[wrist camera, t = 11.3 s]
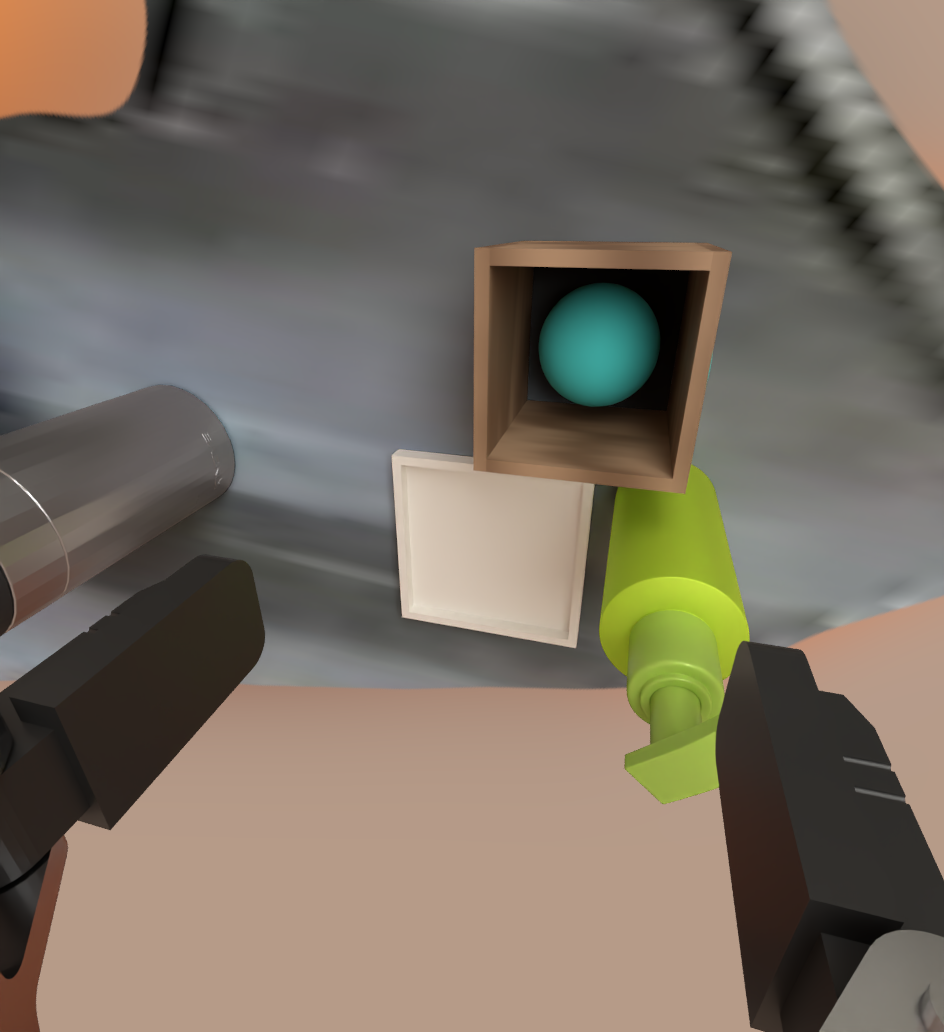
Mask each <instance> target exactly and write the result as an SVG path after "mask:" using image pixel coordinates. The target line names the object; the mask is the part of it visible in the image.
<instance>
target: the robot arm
mask: <svg viewBox="0 0 944 1032" xmlns="http://www.w3.org/2000/svg"><path fill="white" fill-rule="evenodd" d="M234 467H235V461H234V452H233V449H232V445H231V442H230V439H229V437H228V435H227V433H226V431H225V428H224V427H223V425H222V424H221V422H220V421H219V419H218V418H217V416H216V415H215V414H214V413H213V412H212V411H211V410H210V409H209V407H208V406H207V405H206V404H204V403H203V402H202V401H201V400H199V399H198V398H197V397H195V396H194V395H192V394H190V393H188V392H187V391H185V390H183V389H180V388H177V387H173V386H169V385H156V386H151V387H147V388H144V389H141V390H138V391H135V392H132V393H129V394H126V395H123V396H120V397H117V398H114V399H110V400H107V401H104V402H101V403H98V404H95V405H92V406H89V407H86V408H83V409H80V410H77V411H74V412H71V413H68V414H65V415H62V416H59V417H56V418H53V419H50V420H47V421H43V422H40V423H37V424H34V425H31V426H28V427H25V428H22V429H19V430H16V431H13V432H10V433H7V434H4V435H1V436H0V636H2V635H3V634H4V633H6V632H8V631H9V630H11V629H13V628H14V627H16V626H17V625H19V624H20V623H22V622H24V621H25V620H27V619H28V618H30V617H31V616H33V615H35V614H36V613H38V612H39V611H41V610H42V609H44V608H46V607H47V606H49V605H50V604H52V603H53V602H55V601H56V600H58V599H59V598H61V597H62V596H64V595H65V594H67V593H69V592H70V591H72V590H73V589H75V588H76V587H78V586H80V585H81V584H83V583H84V582H86V581H87V580H89V579H91V578H92V577H94V576H95V575H97V574H98V573H100V572H102V571H103V570H105V569H106V568H108V567H109V566H111V565H113V564H114V563H116V562H117V561H119V560H120V559H122V558H123V557H125V556H127V555H128V554H130V553H131V552H133V551H134V550H136V549H138V548H139V547H141V546H142V545H144V544H145V543H147V542H149V541H150V540H152V539H153V538H155V537H156V536H158V535H160V534H161V533H163V532H164V531H166V530H167V529H169V528H171V527H172V526H174V525H175V524H177V523H178V522H180V521H182V520H183V519H185V518H187V517H188V516H190V515H191V514H193V513H194V512H196V511H197V510H199V509H201V508H202V507H204V506H205V505H207V504H208V503H210V502H212V501H213V500H215V499H216V498H218V497H219V496H220V495H222V494H223V493H224V492H225V491H226V490H227V488H228V487H229V486H230V484H231V481H232V478H233V476H234ZM264 642H265V630H264V625H263V620H262V616H261V611H260V606H259V601H258V597H257V592H256V587H255V582H254V577H253V573H252V570H251V568H250V566H249V565H248V563H246V562H245V561H243V560H236V559H230V558H223V557H217V556H211V555H200V556H197V557H196V558H194V559H193V560H191V561H190V562H189V563H187V564H186V565H185V566H183V567H182V568H181V569H179V570H178V571H177V572H175V573H174V574H172V575H171V576H170V577H168V578H167V579H166V580H164V581H162V582H160V583H157V584H155V585H153V586H151V587H149V588H146V589H144V590H142V591H140V592H138V593H136V594H135V595H133V596H132V597H131V598H129V599H128V600H127V601H125V602H124V603H122V604H121V605H120V606H118V607H117V608H116V609H114V610H113V611H111V615H110V616H105V617H103V618H102V619H100V620H99V621H98V622H96V623H95V624H94V625H92V626H91V627H89V631H88V632H87V633H86V632H83V633H81V634H80V635H79V636H77V637H76V638H74V639H73V640H72V641H70V642H69V643H68V644H66V645H65V646H63V647H62V648H61V649H59V650H58V651H57V652H55V653H54V654H52V655H51V656H50V657H48V658H47V659H46V660H44V661H43V662H41V663H40V664H39V665H37V666H36V667H35V668H33V669H32V670H31V671H29V672H28V673H26V674H25V675H24V676H22V677H21V678H20V679H18V680H17V681H15V682H14V683H13V684H12V685H10V686H9V687H7V688H6V689H4V690H3V691H2V692H0V1032H40V1029H39V1024H38V1018H37V1012H36V994H37V985H38V980H39V976H40V972H41V967H42V963H43V959H44V954H45V950H46V945H47V941H48V936H49V932H50V927H51V923H52V919H53V914H54V910H55V906H56V901H57V897H58V892H59V888H60V884H61V880H62V875H63V870H64V866H65V862H66V858H67V852H68V844H67V840H66V838H65V836H64V834H65V833H66V832H67V831H68V830H69V829H70V828H71V827H72V826H73V825H74V824H75V822H76V821H77V820H78V821H82V822H85V823H88V824H92V825H95V826H98V827H102V828H105V829H108V830H111V829H112V828H113V827H114V825H115V824H116V823H117V822H118V821H119V820H120V819H121V817H122V816H123V815H124V814H125V813H126V812H127V811H128V810H129V808H130V807H131V806H132V805H133V804H134V803H135V801H136V800H137V799H138V798H139V797H140V796H141V795H142V794H143V793H144V791H145V790H146V789H147V788H148V787H149V786H150V785H151V783H152V782H153V781H154V780H155V779H156V778H157V777H158V775H159V774H160V773H161V772H162V771H163V770H164V769H165V768H166V766H167V765H168V764H169V763H170V762H171V761H172V759H173V758H174V757H175V756H176V755H177V754H178V753H179V752H180V750H181V749H182V748H183V747H184V746H185V745H186V744H187V742H188V741H189V740H190V739H191V738H192V737H193V736H194V735H195V733H196V732H197V731H198V730H199V729H200V728H201V727H202V725H203V724H204V723H205V722H206V721H207V720H208V719H209V718H210V716H211V715H212V714H213V713H214V712H215V711H216V710H217V708H218V707H219V706H220V705H221V704H222V703H223V702H224V700H225V699H226V698H227V697H228V696H229V695H230V693H232V691H233V690H234V689H235V688H236V687H237V686H238V685H239V683H240V682H241V681H242V680H243V679H244V678H245V677H246V675H247V674H248V673H249V672H250V671H251V670H252V669H253V667H254V666H255V665H256V663H257V662H258V660H259V658H260V656H261V653H262V651H263V647H264ZM715 756H716V767H717V775H718V783H719V790H720V798H721V806H722V813H723V821H724V829H725V836H726V844H727V852H728V859H729V866H730V874H731V882H732V890H733V897H734V905H735V912H736V920H737V928H738V936H739V943H740V950H741V958H742V966H743V974H744V982H745V989H746V997H747V1005H748V1012H749V1020H750V1027H751V1028H755V1029H758V1030H761V1031H764V1032H944V880H943V878H942V875H941V873H940V871H939V869H938V866H937V864H936V862H935V860H934V858H933V855H932V853H931V851H930V849H929V847H928V844H927V842H926V840H925V838H924V835H923V834H922V831H921V829H920V827H919V825H918V822H917V820H916V818H915V816H914V813H913V811H912V809H911V807H910V805H909V804H906V803H905V794H904V791H903V789H902V787H901V785H900V783H899V780H898V778H897V776H896V774H895V772H892V771H891V763H890V761H889V758H888V756H887V754H886V752H885V750H884V748H883V745H882V743H881V741H880V739H879V736H878V734H877V732H876V730H875V728H874V727H873V726H872V725H871V724H870V722H869V721H868V720H867V719H866V718H865V717H864V716H863V715H862V714H861V713H860V712H859V711H858V710H857V709H856V708H855V707H854V706H853V704H852V703H851V702H850V701H849V700H848V699H847V698H846V697H845V696H844V695H841V694H835V693H830V692H824V691H819V690H818V688H817V685H816V682H815V680H814V677H813V674H812V672H811V669H810V666H809V664H808V661H807V658H806V656H805V654H804V653H803V651H801V650H799V649H793V648H786V647H780V646H774V645H767V644H761V643H755V642H748V641H742V642H741V643H740V645H739V647H738V649H737V652H736V656H735V659H734V663H733V667H732V670H731V674H730V678H729V682H728V685H727V689H726V693H725V696H724V700H723V704H722V707H721V711H720V715H719V719H718V724H717V730H716V743H715Z"/></svg>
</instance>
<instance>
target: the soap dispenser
mask: <svg viewBox="0 0 944 1032" xmlns="http://www.w3.org/2000/svg"><path fill="white" fill-rule="evenodd" d="M599 636H600V641H601V645H602V647H603V650H604V652H605V654H606V656H607V657H608V659H609V660H610V661H611V663H612V664H613V665H614V666H615V667H616V668H617V669H618V670H619V671H620V672H621V673H623V674H624V675H625V676H627V697H628V701H629V704H630V706H631V708H632V709H633V711H634V712H635V713H636V714H637V715H638V716H639V717H640V718H641V719H642V720H644V721H645V722H647V723H649V724H650V745H648V746H646V747H643V748H641V749H638V750H636V751H633V752H631V753H628V754H626V755H625V770H627V771H628V772H629V773H630V774H631V775H632V776H633V777H634V778H635V779H636V780H637V781H638V782H639V783H640V784H641V785H643V786H644V787H645V788H646V789H647V790H648V791H649V792H650V793H651V794H652V795H653V796H654V797H655V798H656V799H658V800H659V801H660V802H661V803H662V804H666V803H670V802H674V801H677V800H681V799H684V798H688V797H691V796H694V795H698V794H701V793H704V792H707V791H710V790H713V789H716V788H719V783H718V775H717V767H716V756H715V743H716V730H717V724H718V719H719V715H720V711H721V707H722V704H723V700H724V696H725V693H724V686H723V680H724V679H726V678H727V677H728V676H730V674H731V670H732V667H733V663H734V659H735V656H736V652H737V649H738V647H739V645H740V643H741V642H742V641H748V642H749V628H748V624H747V619H746V615H745V611H744V607H743V603H742V599H741V595H740V591H739V587H738V583H737V578H736V574H735V570H734V566H733V562H732V558H731V554H730V550H729V546H728V541H727V537H726V533H725V529H724V525H723V521H722V517H721V513H720V509H719V504H718V500H717V496H716V492H715V489H714V487H713V485H712V483H711V481H710V480H709V478H708V477H707V476H706V475H705V474H704V473H703V472H702V471H701V470H700V469H698V468H697V467H695V466H693V465H691V467H690V472H689V477H688V483H687V488H686V493H685V494H681V493H672V492H663V491H654V490H645V489H636V488H627V487H618V490H617V493H616V497H615V504H614V512H613V520H612V528H611V536H610V544H609V552H608V560H607V568H606V576H605V584H604V592H603V600H602V609H601V617H600V625H599Z"/></svg>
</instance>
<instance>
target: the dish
mask: <svg viewBox="0 0 944 1032" xmlns="http://www.w3.org/2000/svg"><path fill="white" fill-rule="evenodd" d="M392 469H393V484H394V499H395V515H396V530H397V545H398V561H399V576H400V591H401V607H402V617H404V618H410V619H415V620H421V621H427V622H432V623H438V624H443V625H449V626H455V627H460V628H466V629H471V630H477V631H483V632H488V633H494V634H499V635H505V636H511V637H516V638H522V639H527V640H533V641H538V642H544V643H550V644H555V645H561V646H566V647H572V648H576V645H577V639H578V631H579V622H580V613H581V604H582V595H583V586H584V577H585V568H586V559H587V550H588V542H589V533H590V524H591V515H592V506H593V497H594V488H595V484H591V483H582V482H573V481H564V480H555V479H546V478H536V477H527V476H518V475H509V474H500V473H491V472H482V471H473V457H469V456H460V455H450V454H441V453H431V452H422V451H412V450H402V449H398V450H397V451H396V452H395V453H394V454H393V455H392Z"/></svg>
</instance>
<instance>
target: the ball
mask: <svg viewBox="0 0 944 1032" xmlns="http://www.w3.org/2000/svg"><path fill="white" fill-rule="evenodd" d="M659 351H660V330H659V325H658V322H657V319H656V317H655V315H654V313H653V311H652V309H651V308H650V306H649V305H648V304H647V302H646V301H645V300H644V299H643V298H642V297H641V296H639V295H638V294H637V293H636V292H634V291H632V290H631V289H629V288H626V287H624V286H621V285H618V284H614V283H594V284H589V285H585V286H582V287H580V288H577V289H575V290H573V291H571V292H570V293H568V294H567V295H565V296H564V297H563V298H562V299H561V300H559V301H558V303H557V304H556V305H555V306H554V307H553V308H552V310H551V311H550V313H549V314H548V316H547V318H546V320H545V322H544V324H543V327H542V329H541V333H540V338H539V358H540V363H541V367H542V370H543V372H544V375H545V377H546V378H547V380H548V382H549V383H550V384H551V386H552V387H553V388H554V389H555V390H556V391H557V392H558V393H559V394H560V395H562V396H563V397H564V398H566V399H568V400H570V401H572V402H574V403H577V404H580V405H584V406H591V407H600V406H608V405H612V404H615V403H618V402H621V401H623V400H624V399H626V398H628V397H630V396H631V395H632V394H634V393H635V392H636V391H638V390H639V389H640V388H641V387H642V386H643V385H644V383H645V382H646V381H647V380H648V378H649V377H650V375H651V374H652V372H653V370H654V368H655V365H656V363H657V360H658V356H659Z"/></svg>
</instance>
